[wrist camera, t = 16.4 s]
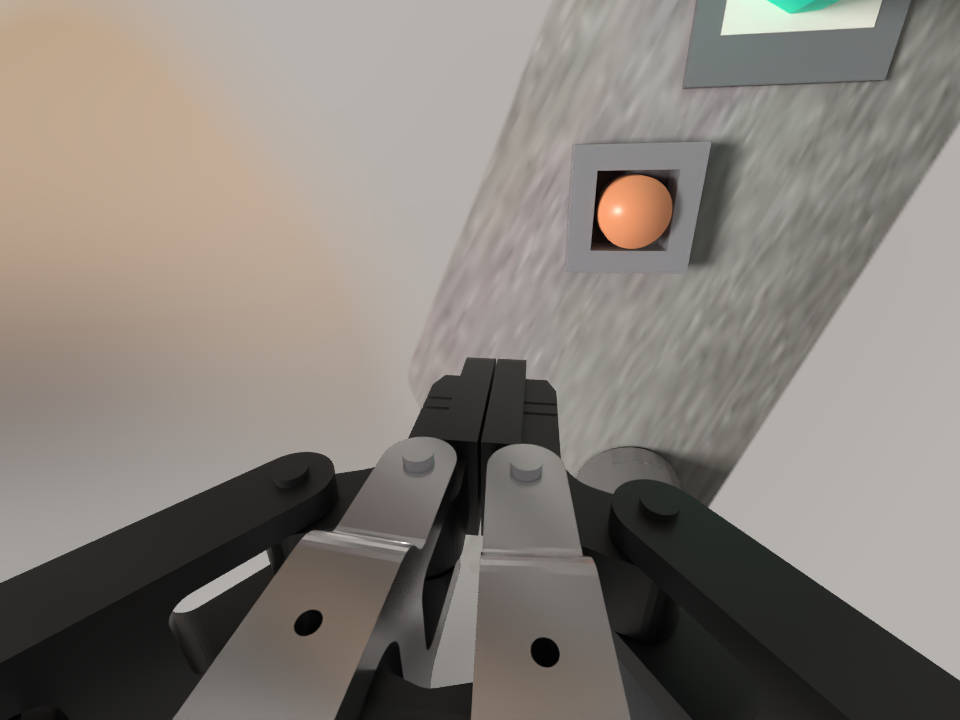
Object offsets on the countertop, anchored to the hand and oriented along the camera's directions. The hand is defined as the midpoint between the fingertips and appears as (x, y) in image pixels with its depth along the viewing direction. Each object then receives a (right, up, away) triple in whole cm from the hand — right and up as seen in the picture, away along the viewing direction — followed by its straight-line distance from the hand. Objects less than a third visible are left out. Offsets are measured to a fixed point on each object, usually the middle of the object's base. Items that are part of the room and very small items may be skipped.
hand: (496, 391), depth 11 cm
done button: (+10, +11, +19) cm, 24 cm away
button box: (+10, +12, +19) cm, 24 cm away
